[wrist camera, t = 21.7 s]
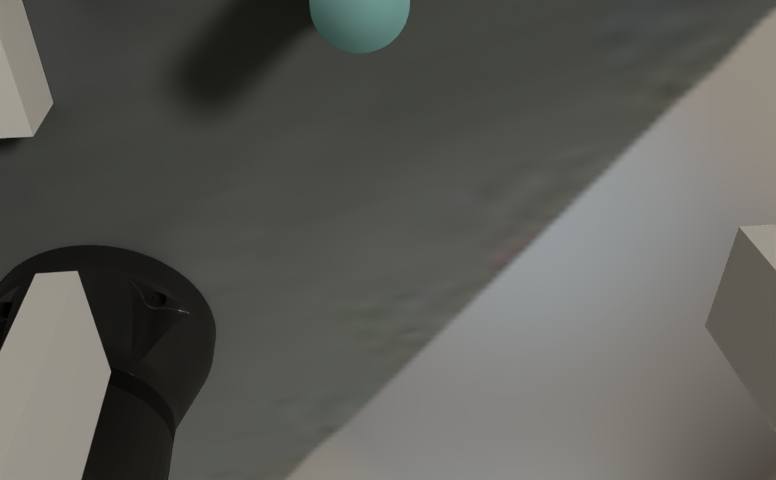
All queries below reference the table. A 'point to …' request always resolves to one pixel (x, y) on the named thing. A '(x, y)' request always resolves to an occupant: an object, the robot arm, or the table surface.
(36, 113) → the grey block with rod
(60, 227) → the table surface
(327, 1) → the plug
